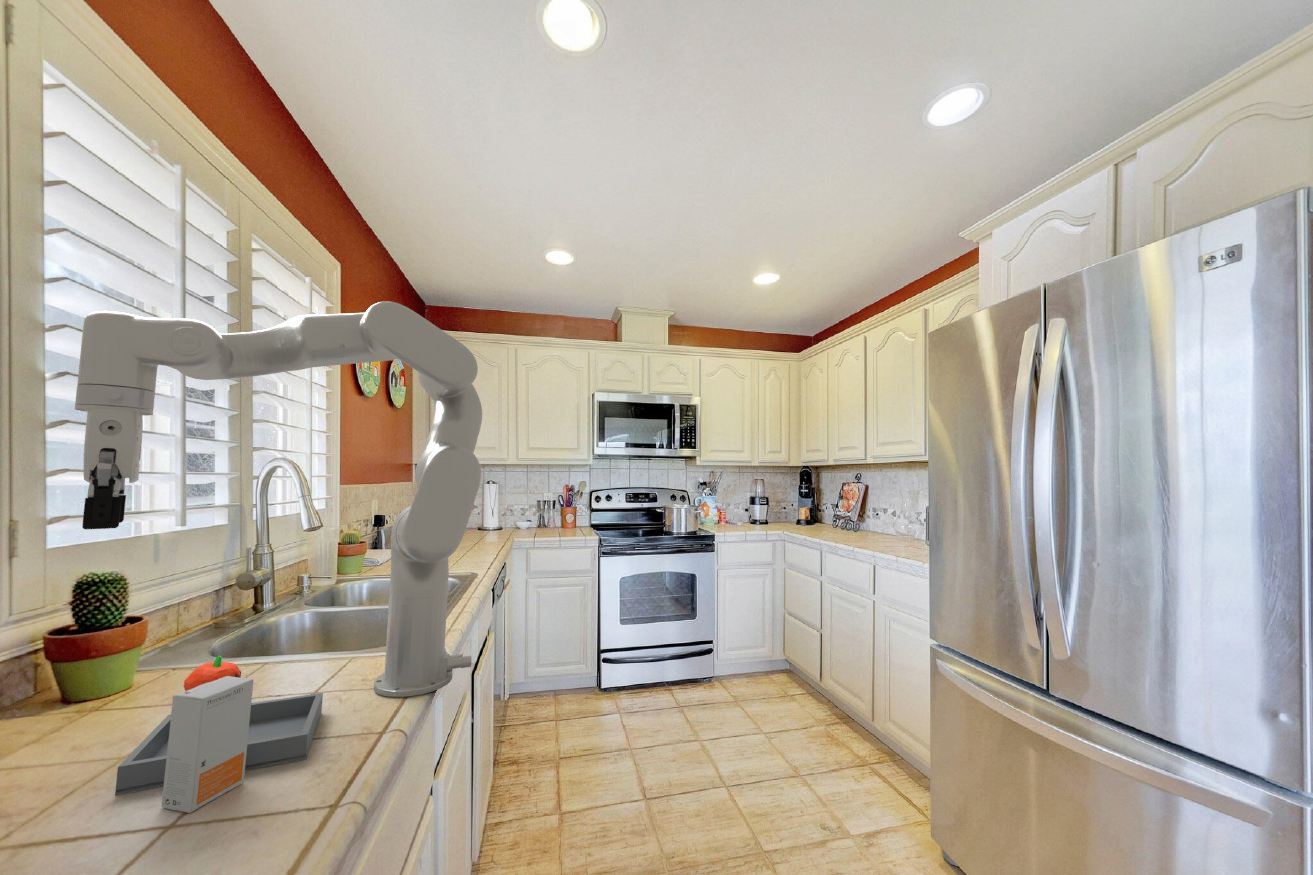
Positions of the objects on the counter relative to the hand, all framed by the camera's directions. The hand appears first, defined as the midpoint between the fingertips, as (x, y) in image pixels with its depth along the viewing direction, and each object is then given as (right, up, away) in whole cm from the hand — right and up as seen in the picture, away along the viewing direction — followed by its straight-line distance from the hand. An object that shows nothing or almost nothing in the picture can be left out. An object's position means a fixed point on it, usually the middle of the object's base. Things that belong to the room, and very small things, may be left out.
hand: (104, 525), depth 70 cm
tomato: (+3, -31, +14) cm, 34 cm away
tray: (+20, -29, -2) cm, 35 cm away
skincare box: (+24, -29, -12) cm, 40 cm away
